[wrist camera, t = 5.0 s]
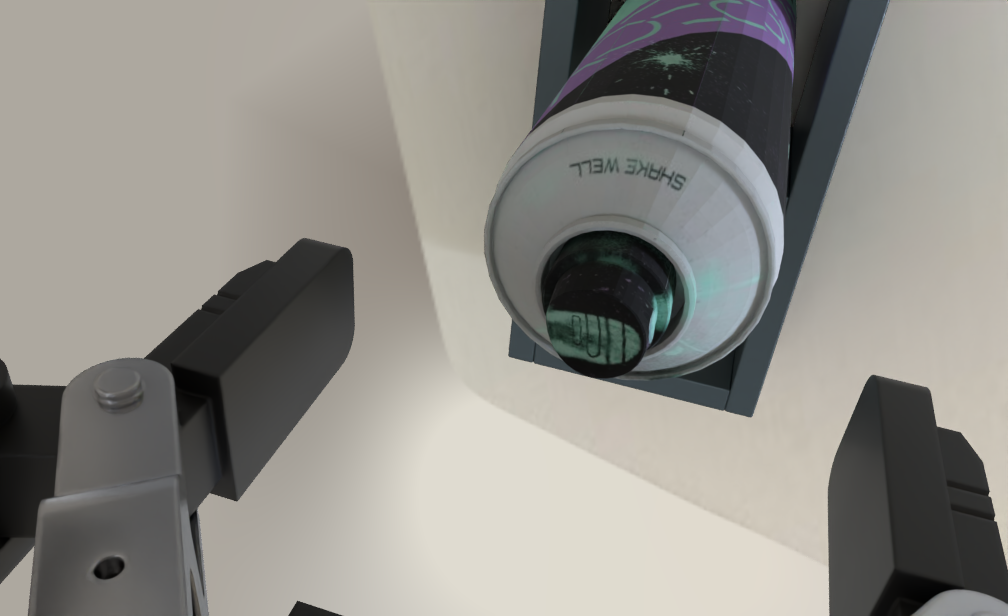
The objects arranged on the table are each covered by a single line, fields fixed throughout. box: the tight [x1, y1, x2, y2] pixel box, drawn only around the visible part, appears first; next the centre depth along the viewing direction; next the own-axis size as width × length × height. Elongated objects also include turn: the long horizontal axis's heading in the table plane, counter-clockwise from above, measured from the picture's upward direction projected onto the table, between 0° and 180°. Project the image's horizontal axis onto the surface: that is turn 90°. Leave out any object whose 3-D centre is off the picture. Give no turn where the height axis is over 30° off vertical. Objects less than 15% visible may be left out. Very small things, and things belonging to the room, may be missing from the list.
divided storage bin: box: [508, 0, 890, 417], centre depth 29 cm, size 9×16×6 cm, turn 175°
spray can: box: [484, 0, 797, 381], centre depth 21 cm, size 6×6×20 cm
